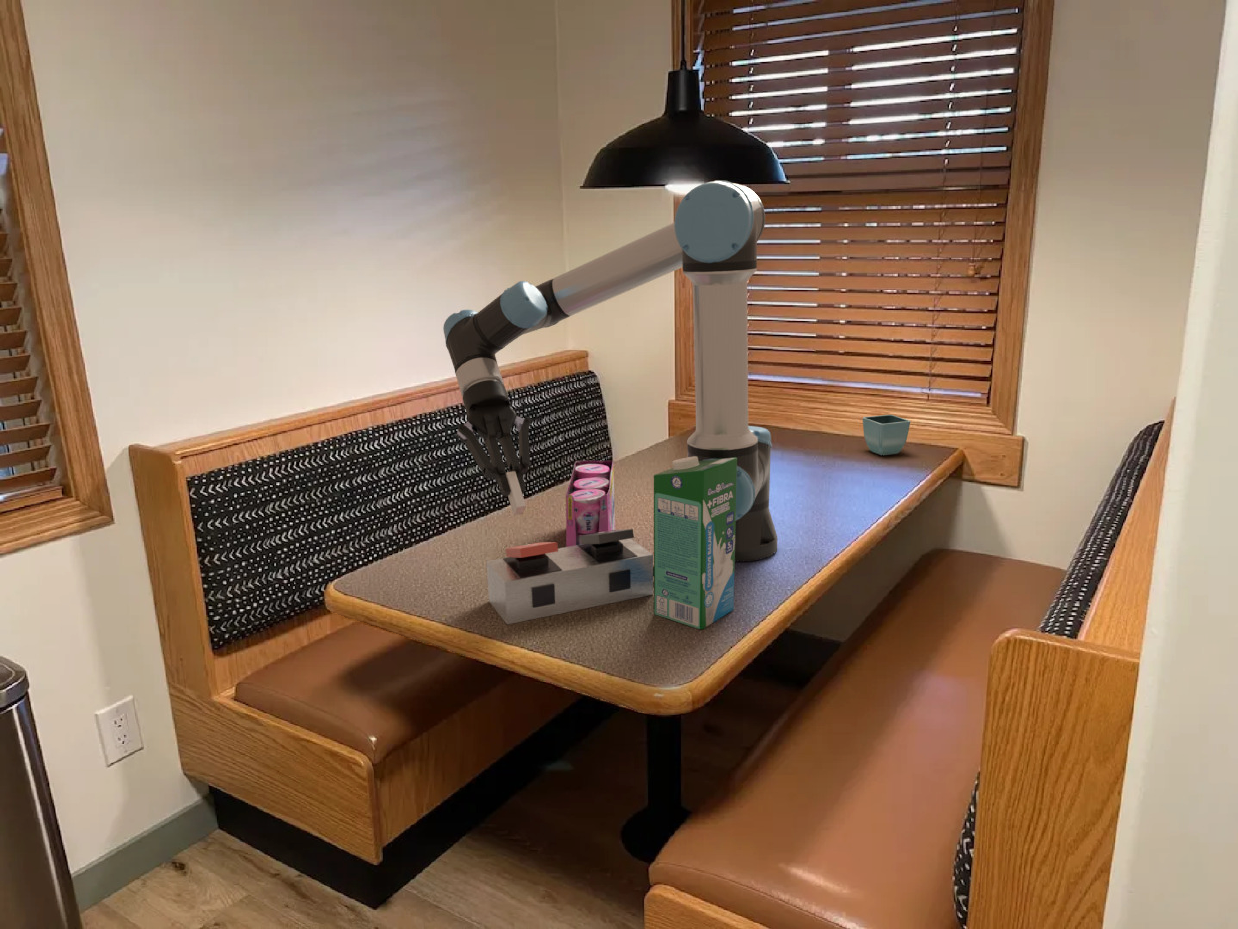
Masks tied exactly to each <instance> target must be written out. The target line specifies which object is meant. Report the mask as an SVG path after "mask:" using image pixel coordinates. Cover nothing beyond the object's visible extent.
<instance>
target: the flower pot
mask: <svg viewBox="0 0 1238 929" xmlns="http://www.w3.org/2000/svg"><path fill="white" fill-rule="evenodd" d="M910 425H911V420H909V419H906V418H902V417H900V416H896V415H893V414H883V415H872V416H864V417H862V427H863V437H864V441H865V443H866V445H867V447H868V449H869V451H870V452H872V453H874V454H877V455H880V456H882V455H883V456H888V455H897V454H899V453H901V451H902V449H903V448H904V446H905V445H906V442H907V440H908V436H909V431H910Z"/></svg>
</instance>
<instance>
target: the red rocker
mask: <svg viewBox="0 0 1238 929" xmlns="http://www.w3.org/2000/svg"><path fill="white" fill-rule="evenodd" d="M558 546H559V545H558V542H557V541H556V542H555V541H554V542H553V541H551V542H550V541H549V542H547V541H545V542H543V541H540V542H535V543H529V544H528V543H527V544H523V545H517V546H512V547H505V556H506V558H507V557H516V558H523V557H529V556H534V555H540V554H546V553H551V552H557V551H558V548H559V547H558Z"/></svg>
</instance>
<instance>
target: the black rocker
mask: <svg viewBox="0 0 1238 929" xmlns="http://www.w3.org/2000/svg"><path fill="white" fill-rule="evenodd" d="M630 538H631V539H635V536H634V530H633V528H630V529H629V528H628V529H615V530H611V531H605V532H599V533H594V534H588V535H582V536H581V542H582V544H602V543H607V542H613V541H619V540H624V539H630Z"/></svg>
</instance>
